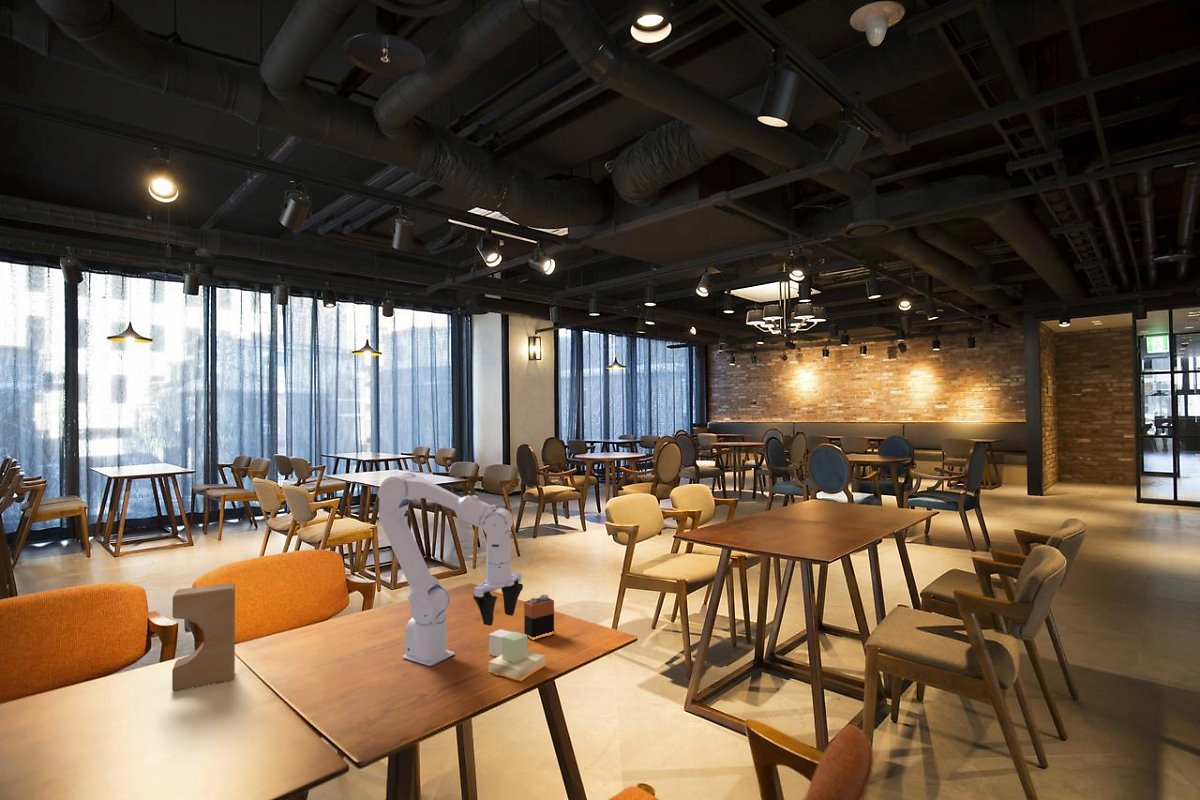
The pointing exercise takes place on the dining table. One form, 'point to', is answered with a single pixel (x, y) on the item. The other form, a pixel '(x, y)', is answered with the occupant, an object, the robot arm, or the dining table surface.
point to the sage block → (514, 647)
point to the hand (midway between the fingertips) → (498, 619)
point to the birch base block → (516, 665)
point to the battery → (538, 616)
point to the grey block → (496, 641)
